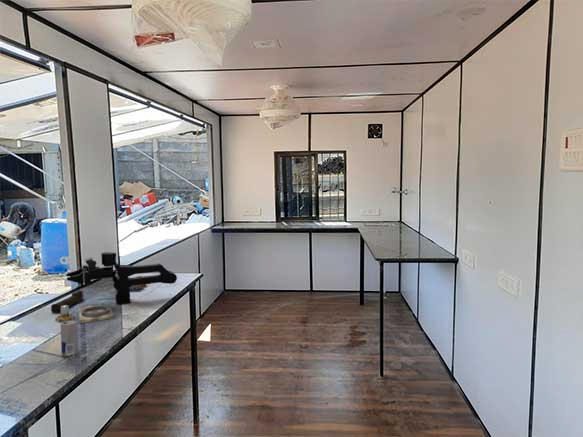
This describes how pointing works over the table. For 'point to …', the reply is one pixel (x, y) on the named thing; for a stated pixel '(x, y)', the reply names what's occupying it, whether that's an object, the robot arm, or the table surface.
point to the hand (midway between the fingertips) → (66, 276)
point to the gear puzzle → (136, 287)
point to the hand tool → (67, 301)
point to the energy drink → (69, 337)
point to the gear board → (95, 313)
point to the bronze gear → (65, 314)
